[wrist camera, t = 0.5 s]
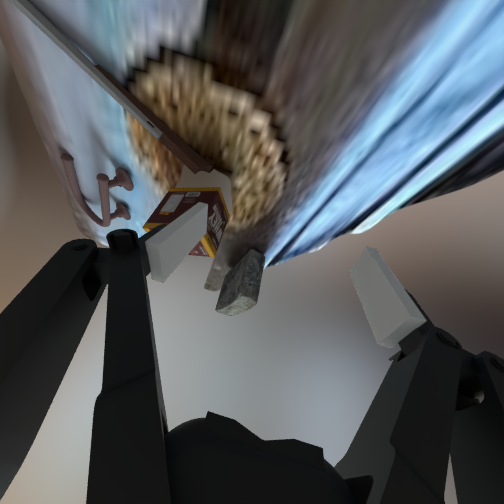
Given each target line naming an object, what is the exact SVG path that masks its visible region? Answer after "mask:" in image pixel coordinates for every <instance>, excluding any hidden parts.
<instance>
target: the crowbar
mask: <svg viewBox="0 0 504 504" xmlns="http://www.w3.org/2000/svg"><path fill="white" fill-rule="evenodd" d="M10 1H11V2H12V3H13V4H14V5H15V6H16V7H17V8H18V9H19V10H20V11H21V12H22V13H23V14H25V15H26V16H27V17H28V18H29V19H30V20H31V21H32V22H33V23H34V24H35V25H36V26H37V27H38V28H39V29H40V30H42V31H43V32H44V33H45V34H46V35H47V36H48V37H49V38H50V39H51V40H52V41H53V42H54V43H55V44H56V45H57V46H59V47H60V48H61V49H62V50H63V51H64V52H65V53H66V54H67V55H68V56H69V57H70V58H71V59H72V60H73V61H75V62H76V63H77V64H78V65H79V66H80V67H81V68H82V69H83V70H84V71H85V72H86V73H87V74H88V75H89V76H90V77H92V78H93V79H94V80H95V81H96V82H97V83H98V84H99V85H100V86H101V87H102V88H103V89H104V90H105V91H106V92H108V93H109V94H110V95H111V96H112V97H113V98H114V99H115V100H116V101H117V102H118V103H119V104H120V105H121V106H122V107H123V108H125V109H126V110H127V111H128V112H129V113H130V114H131V115H132V116H133V117H134V118H135V119H136V120H137V121H138V122H139V123H140V124H142V125H143V126H144V127H145V128H146V129H147V130H148V131H149V132H150V133H151V134H152V135H153V136H154V137H155V138H156V139H158V140H159V141H160V142H161V143H163V144H164V145H165V146H166V147H167V148H168V149H169V150H170V151H171V152H172V153H173V154H174V155H175V156H176V157H177V158H178V159H180V160H181V161H182V162H183V163H184V164H185V165H186V166H187V167H188V168H189V169H190V170H191V171H192V172H193V173H194V174H196V173H197V172H198V171H206V172H208V173H210V172H211V171H212V170H213V169H214V168H213V167H212V166H211V165H210V164H209V163H208V162H207V161H206V160H205V159H204V158H202V157H201V156H200V155H199V154H198V153H196V152H195V151H194V150H193V149H192V148H190V147H189V146H188V145H187V144H186V143H185V142H184V141H183V140H181V139H180V138H179V137H178V136H177V135H176V134H175V133H174V132H172V131H171V130H170V129H169V128H168V127H167V126H166V125H165V124H163V123H162V122H161V121H160V120H159V119H158V118H157V117H156V116H155V115H153V114H152V113H151V112H150V111H149V110H148V109H147V108H146V107H145V106H143V105H142V104H141V103H140V102H139V101H138V100H137V99H136V98H135V97H134V96H132V95H131V94H130V93H129V92H128V91H127V90H126V89H125V88H124V87H122V86H121V85H120V84H119V83H118V82H117V81H116V80H115V79H114V78H113V77H111V76H110V75H109V74H108V73H107V72H106V71H105V70H104V69H103V68H101V67H100V66H99V65H94V64H93V63H92V62H91V61H90V60H89V59H88V58H87V57H86V56H85V55H84V54H83V53H82V52H81V51H80V50H79V49H78V48H77V47H75V46H74V45H73V44H72V43H71V42H70V41H69V40H68V39H67V38H66V37H65V36H64V35H63V34H62V33H61V32H60V31H59V30H58V29H57V28H56V27H55V26H54V25H53V24H52V23H51V22H50V21H49V20H48V19H47V18H46V17H45V16H44V15H43V14H42V13H41V12H40V11H39V10H38V9H37V8H36V7H34V6H33V5H32V4H31V3H30V2H29V1H28V0H10Z"/></svg>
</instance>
